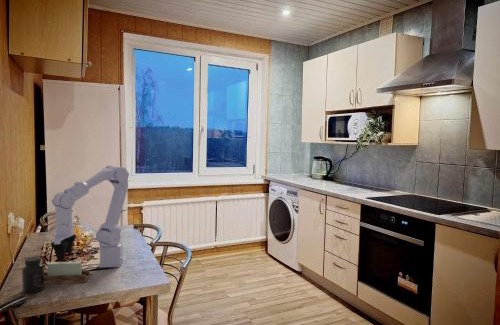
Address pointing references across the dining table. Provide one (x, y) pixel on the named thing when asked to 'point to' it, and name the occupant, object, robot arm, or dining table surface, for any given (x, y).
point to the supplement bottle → (32, 276)
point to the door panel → (64, 268)
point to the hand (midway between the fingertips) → (64, 256)
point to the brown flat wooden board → (67, 278)
